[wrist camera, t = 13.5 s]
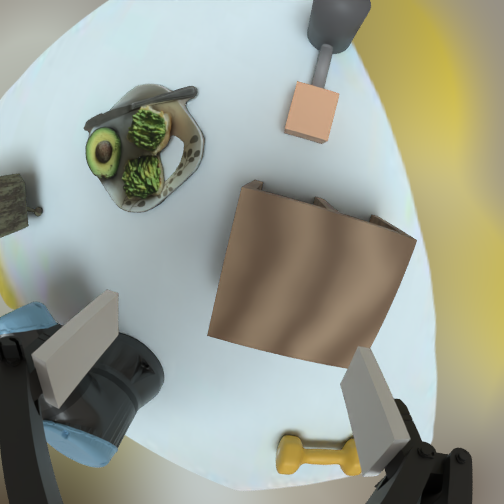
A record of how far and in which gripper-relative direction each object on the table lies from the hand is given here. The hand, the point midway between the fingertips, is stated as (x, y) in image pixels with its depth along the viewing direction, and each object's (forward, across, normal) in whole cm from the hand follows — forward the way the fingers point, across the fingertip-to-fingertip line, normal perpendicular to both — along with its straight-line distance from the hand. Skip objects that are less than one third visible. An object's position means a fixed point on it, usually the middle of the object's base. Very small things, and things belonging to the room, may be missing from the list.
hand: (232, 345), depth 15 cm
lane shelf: (+26, +7, -1) cm, 27 cm away
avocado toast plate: (+27, -19, +9) cm, 34 cm away
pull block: (+26, +3, +23) cm, 35 cm away
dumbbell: (+27, +23, -41) cm, 54 cm away
